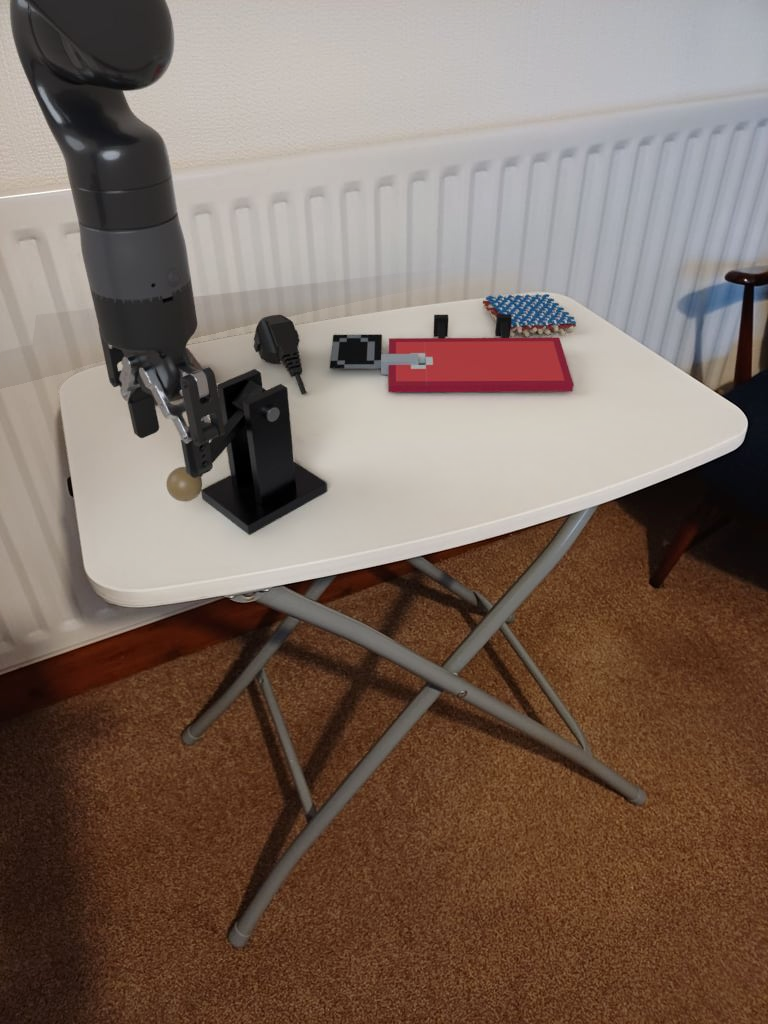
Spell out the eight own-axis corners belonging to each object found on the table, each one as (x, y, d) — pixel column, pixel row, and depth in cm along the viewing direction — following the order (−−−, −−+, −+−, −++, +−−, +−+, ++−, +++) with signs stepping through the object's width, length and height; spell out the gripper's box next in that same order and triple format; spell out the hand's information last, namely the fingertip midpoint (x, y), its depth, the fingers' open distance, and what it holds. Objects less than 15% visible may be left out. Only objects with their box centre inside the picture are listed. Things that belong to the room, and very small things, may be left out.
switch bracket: (249, 535, 76) (233, 422, 68) (202, 499, 80) (181, 389, 72) (327, 491, 81) (321, 382, 73) (279, 459, 86) (268, 353, 78)
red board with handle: (334, 333, 108) (327, 395, 97) (333, 315, 106) (326, 376, 95) (553, 332, 107) (571, 394, 96) (556, 313, 105) (575, 374, 94)
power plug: (283, 395, 95) (251, 310, 97) (275, 421, 101) (245, 341, 104) (326, 385, 96) (294, 301, 99) (315, 411, 103) (285, 332, 106)
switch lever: (192, 513, 72) (172, 497, 70) (173, 498, 74) (153, 481, 72) (282, 407, 74) (265, 387, 72) (261, 395, 76) (244, 375, 74)
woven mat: (478, 307, 114) (481, 293, 113) (544, 304, 117) (547, 291, 116) (507, 338, 106) (509, 324, 105) (576, 335, 109) (580, 321, 108)
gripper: (49, 263, 62) (95, 437, 72) (145, 319, 54) (181, 506, 64) (134, 240, 66) (166, 408, 76) (235, 289, 58) (255, 469, 68)
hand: (173, 452), depth 70 cm, fingers open, 8 cm apart
